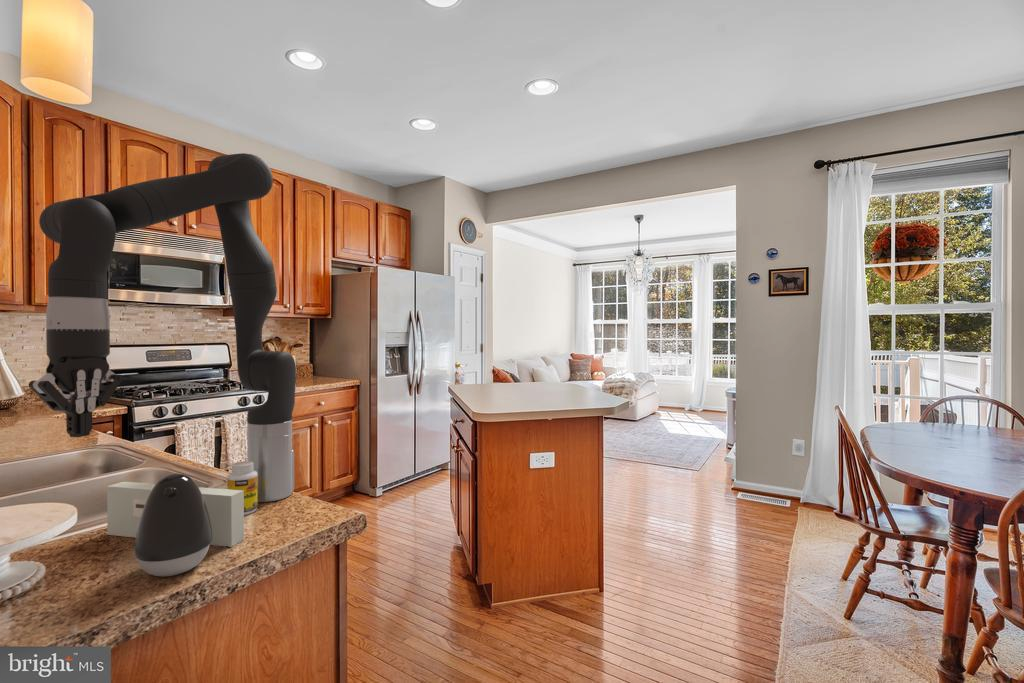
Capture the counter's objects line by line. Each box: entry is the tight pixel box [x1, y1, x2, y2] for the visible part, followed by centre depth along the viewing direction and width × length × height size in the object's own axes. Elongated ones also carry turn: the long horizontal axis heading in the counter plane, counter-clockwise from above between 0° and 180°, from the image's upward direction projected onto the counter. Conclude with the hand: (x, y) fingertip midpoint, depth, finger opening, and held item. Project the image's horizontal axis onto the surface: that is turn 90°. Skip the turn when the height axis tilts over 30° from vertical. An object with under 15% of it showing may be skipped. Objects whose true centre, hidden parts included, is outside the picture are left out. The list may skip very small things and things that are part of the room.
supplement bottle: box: [226, 460, 258, 516], centre depth 102 cm, size 6×6×10 cm
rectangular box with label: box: [106, 481, 245, 548], centre depth 89 cm, size 3×26×9 cm, turn 80°
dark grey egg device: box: [133, 472, 212, 577], centre depth 78 cm, size 10×10×15 cm
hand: (79, 436), depth 78 cm, fingers closed
